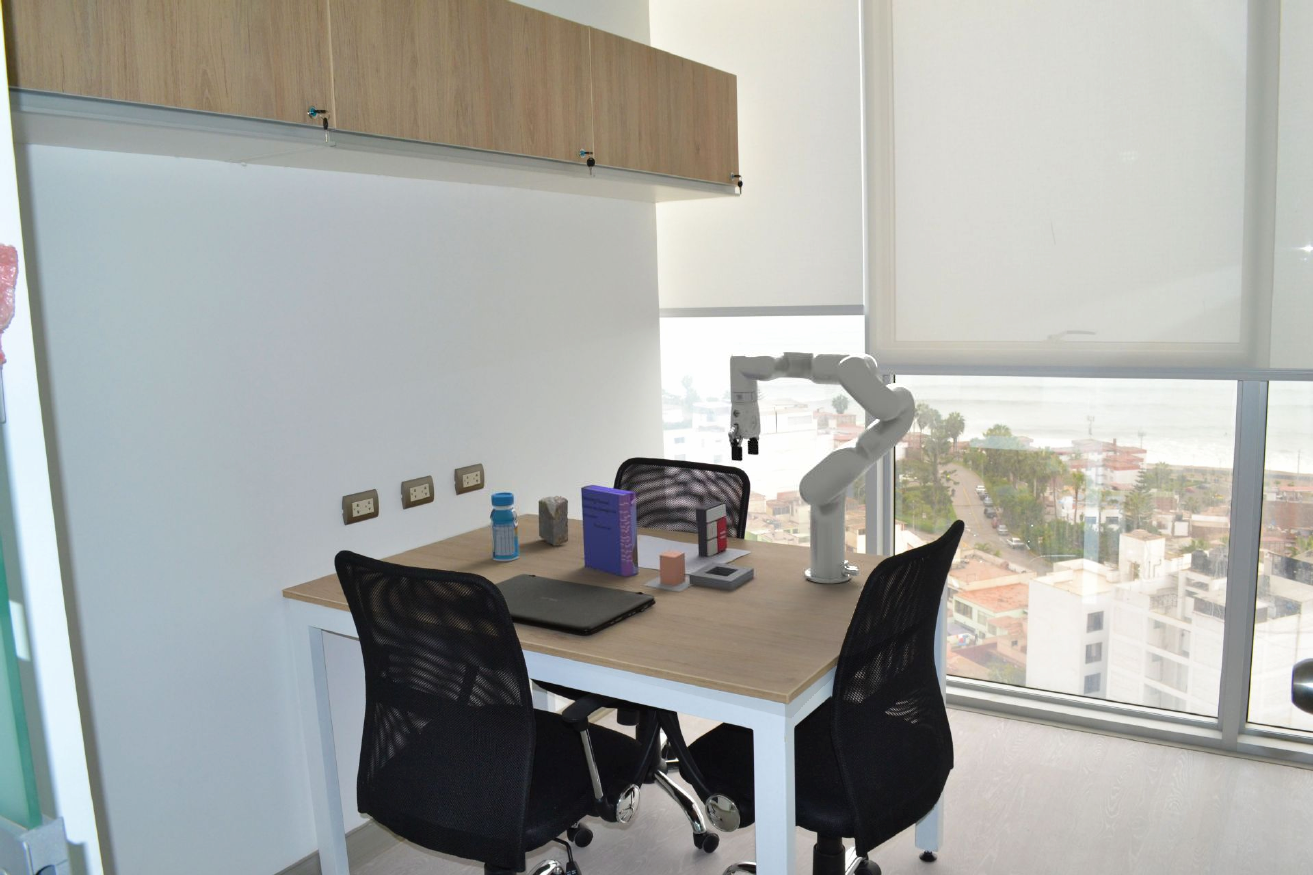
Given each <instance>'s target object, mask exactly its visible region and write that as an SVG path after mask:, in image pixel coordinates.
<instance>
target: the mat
mask: <svg viewBox="0 0 1313 875" xmlns="http://www.w3.org/2000/svg"><path fill="white" fill-rule="evenodd" d="M694 585H695V584H693V583H690V581H689V576H686V575H685V581H684V582H682V583H680V584H679V585H677V586H673V585H668V584H662V583H660V575H659V576H658V577H655V578H653V579H651V580H649V581H648V582H646V583H644V584H642V586H643V587H648V588H655V589H660V590H666V591H672V592H678V593H681V592H683V591H684V590H687V589H688V588H690V587H692V586H694Z"/></svg>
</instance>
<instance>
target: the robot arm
mask: <svg viewBox="0 0 1313 875" xmlns="http://www.w3.org/2000/svg"><path fill="white" fill-rule="evenodd" d="M729 370H730V371H729V376H730V379H729V380H730V382H729V383H730V387H729V388H730V404H731V407H730V408H731V409H730V422H729V423H730V427H729V428H730V430H729V431H728V433H727V435H728V439H729V440H728V441H729V444H730V447H731V448H730V449H731V452H730V453H731V455H730V456H731V461H735V462H742V461H743V446H742V444H743V440H747V454H748V455H749V456H751V455H753V456H758V455H759V441H760V437H759V436H760V434H761V429H762V428H761V415H760V414H761V413H760V406H759V401H758V400H759V398H758V381H759V382H770V381H773V380H777V379H780V378H787V379H788V378H791V379H803V380H804V379H806V380H808V381H811V382H812V383H813V384H816V385H831V386H832V385H833V386H834V385H835V386H837V385H838V386H841V387H842V388H843V389H844V391H845V392H846V393H847V394H848V395H850V397H851V398H853V400H854V401H855V402H856V403H857V404H859V406H860V407H861V408H863V410H864V412H866V413H868V414H869V416H871V417H872V418H874V419H875V420H873V422H872V423H871V424H869V425H868V426H867V427H866V428H865V429H863V430H862V432H860V433H859V434H858V435H856V436H855V437H854V438H853V439H851V440H849V441H847V442H845V443H844V444H841V445H840V446H838V447H836V448H835V449H834V450H832V451H831V452H830V453H829V454H827V455H826V456H825V457H824V458H823V459H822V460H821V461H820V462H818V463H817V464H816V465H815V466H813V468H812V469H810V470H809V471H808V472H807V473H806V474H804V476H802V478H801V479H800V482H799V485H798V486H799V487H798V492H799V496H800V498H801V499H802V500H803V502H804V503H805V504H807V505H809V506H810V510H809V555H810V556H809V558H810V559H809V568H808V569H806V570H805V571H804V577H805V578H806V579H807V580H808V581H810V582H814V583H819V584H838V583H844V582H847V581H848V580H850V579H852V578H851V577H858V576H859V573H860V570H859V567H857V566H850V565H849V560H846V505H847V503H846V502H847V496H848V487H850V485H852V484H853V483H854V482H855V481H856V480H858V479H859V478H860V477H862V476H864V475H865V474H866V473H867V472H868V471H869V470H870V469H871V467H873V466H874V465H875V464H876V463H877V462H879V461H880V460H881V459H882V458H883V457H884V456H886V455H887V453H889V452H890V451H891V450H892V449H893V448H894V447H896V446H897V445H898V444H899V443H900V442H901V441H902V440H903V439H904V437H906V435H907V434H908V433H909V431H910V430H911V427H912V425H913V423H914V419H915V414H916V403H915V399H914V396H913V394H912V392H911V390H909V388H908V387H906V386H905V385H903V384H901V383H891V384H885V382H884V381H883V380H881V378H879V376H878V375H877V374H878V364H877V362H876V360H875V358H873V357H872V355H870V354H866V353H858V352H857V353H853V352H849V353H848V352H820V351H819V352H818V351H813V352H809V351H794V350H793V351H792V350H791V351H790V350H789V351H787V350H778V351H777V350H776V351H770V352H766V353H762V354H761V353H760V354H754V353H753V352H752V353H750V352H739V353H734V354H731V356H730V358H729Z"/></svg>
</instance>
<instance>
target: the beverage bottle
mask: <svg viewBox="0 0 1313 875" xmlns="http://www.w3.org/2000/svg"><path fill="white" fill-rule="evenodd" d="M490 498H491V502H490V503H491V506H492V507H493V508H492V510H491V511H490V516H489V519H490V521H491V522H490V524H489V528H490V531H491V532H490V534H491V548H492V549H491V550H492V555H491V556H492V559H493V560H494V561H496V562H511V561H515V560H518V559H519V557H520V549H519V548H520V546H519V531H518V529H519V522H518V520H517V518H518V513H517V511H516V509H515V508H514V504H515V497H514V493H512V492H496V493H492V494H491V497H490Z"/></svg>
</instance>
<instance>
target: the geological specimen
mask: <svg viewBox="0 0 1313 875" xmlns="http://www.w3.org/2000/svg"><path fill="white" fill-rule="evenodd" d="M568 507H569V501H568V499H567V498H565V497H562V496H561V495H560V496H559V495H555V496H546V497H542V498H541V499H539V500H538V536H539V537H540V539H541V540H544V541H546V543H548V544H551V545H552V546H560V545H562V544H566V543H567V542H569V524H568V523H569V518H568V514H569V508H568Z"/></svg>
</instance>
